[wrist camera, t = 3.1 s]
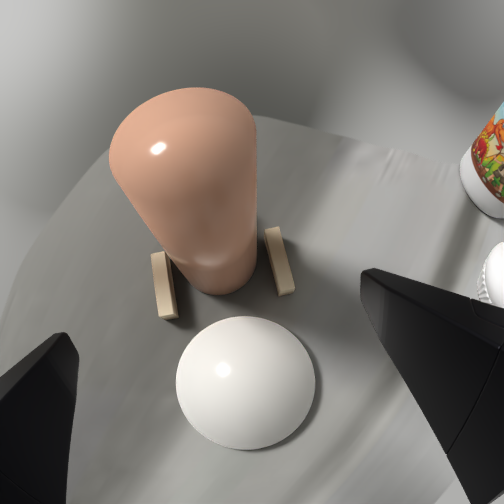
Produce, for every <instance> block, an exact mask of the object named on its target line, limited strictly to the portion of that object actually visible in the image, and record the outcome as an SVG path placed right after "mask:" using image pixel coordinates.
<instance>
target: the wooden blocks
mask: <svg viewBox="0 0 504 504" xmlns="http://www.w3.org/2000/svg"><path fill="white" fill-rule="evenodd" d="M264 240H265V244H266V248H267V252H268V256H269V260H270V263H271V267H272V271H273V275H274V279H275V283H276V287H277V291H278V295H279V296H283V295H287V294H291V293H293V292H294V290H295V285H294V281H293V277H292V273H291V270H290V266H289V262H288V259H287V255H286V251H285V248H284V244H283V240H282V237H281V233H280V230H279V227H275V228H270V229H265V230H264ZM151 261H152V269H153V277H154V285H155V292H156V300H157V307H158V313H159V317H161V318H162V319H164V320H168V319H173V318H179V315H178V309H177V303H176V297H175V291H174V284H173V278H172V271H171V264H170V258H169V257H168V255H167V254H166V253H165V251H163V252H158V253H154V254H151Z"/></svg>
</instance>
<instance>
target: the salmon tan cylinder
mask: <svg viewBox="0 0 504 504" xmlns="http://www.w3.org/2000/svg"><path fill="white" fill-rule="evenodd" d="M109 163H110V168H111V171H112V173H113V176H114V177H115V179H116V181H117V182H118V184H119V185H120V187H121V188H122V190H123V191H124V193H125V194H126V196H127V197H128V199H129V200H130V201H131V203H132V204H133V206H134V207H135V209H136V210H137V212H138V213H139V215H140V216H141V217H142V219H143V220H144V222H145V223H146V225H147V226H148V227H149V229H150V230H151V232H152V233H153V234H154V236H155V237H156V239H157V240H158V241H159V243H160V244H161V246H162V247H163V248H164V250H165V251H166V252H167V254H168V255H169V256H170V258H171V259H172V261H173V262H174V263H175V265H176V266H177V267H178V269H179V270H180V271H181V273H182V274H183V275H184V277H185V278H186V279H187V281H188V282H189V283H190V284H191V285H192V286H193V287H194V288H196V289H197V290H199V291H201V292H203V293H206V294H211V295H224V294H229V293H232V292H234V291H236V290H238V289H240V288H241V287H242V286H244V285H245V284H246V283H247V282H248V280H249V279H250V278H251V276H252V275H253V273H254V270H255V267H256V263H257V164H256V126H255V122H254V119H253V117H252V115H251V113H250V111H249V110H248V109H247V108H246V106H245V105H244V104H243V103H241V102H240V101H239V100H237V99H236V98H235V97H233V96H231V95H229V94H227V93H224V92H221V91H218V90H214V89H208V88H183V89H178V90H173V91H170V92H166V93H164V94H161V95H158V96H156V97H154V98H152V99H150V100H148V101H146V102H145V103H143V104H142V105H140V106H139V107H137V108H136V109H135V110H134V111H133V112H131V113H130V114H129V115H128V117H126V119H125V120H124V121H123V122H122V123H121V125H120V126H119V128H118V129H117V131H116V133H115V135H114V137H113V139H112V143H111V146H110V151H109Z"/></svg>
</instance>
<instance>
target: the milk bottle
mask: <svg viewBox="0 0 504 504" xmlns="http://www.w3.org/2000/svg"><path fill="white" fill-rule="evenodd" d="M460 177H461V181H462V184H463V186H464V188H465V191H466V192H467V194H468V196H469V197H470V199H471V200H472V201H473V203H474V204H475V205H476V206H477V207H478V208H479V209H480V210H482V211H483V212H484V213H486V214H487V215H489V216H491V217H494V218H504V102H503V103H502V105H501V106H500V108H499V109H498V110H497V112H496V113H495V114H494V116H493V117H492V119H491V120H490V121H489V123H488V124H487V125H486V127H485V128H484V129H483V131H482V132H481V133H480V135H479V136H478V137H477V139H476V140H475V141H474V143H473V144H472V145H471V147H470V148H469V149H468V150H467V152H466V153H465V155H464V156H463V157H462V160H461V163H460Z"/></svg>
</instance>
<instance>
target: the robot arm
mask: <svg viewBox="0 0 504 504" xmlns="http://www.w3.org/2000/svg"><path fill="white" fill-rule="evenodd" d="M360 296H361V301H362V304H363V306H364V308H365V310H366V312H367V314H368V316H369V318H370V320H371V322H372V324H373V327H374V329H375V331H376V333H377V335H378V337H379V339H380V341H381V343H382V345H383V346H384V348H385V350H386V351H387V353H388V355H389V356H390V358H391V359H392V361H393V363H394V364H395V366H396V368H397V369H398V371H399V373H400V374H401V376H402V378H403V379H404V381H405V383H406V384H407V386H408V388H409V389H410V391H411V393H412V395H413V396H414V398H415V400H416V401H417V403H418V405H419V407H420V408H421V410H422V412H423V414H424V415H425V417H426V419H427V421H428V423H429V424H430V426H431V428H432V430H433V432H434V433H435V435H436V437H437V439H438V441H439V443H440V444H441V446H442V448H443V450H444V452H445V454H447V458H448V460H449V462H450V464H451V466H452V467H453V469H454V471H455V473H456V475H457V477H458V479H459V481H460V483H461V485H462V487H463V489H464V491H465V493H466V495H467V497H468V499H469V501H470V503H471V504H490V503H492V502H493V501H494V500H496V499H497V498H498V497H500V496H501V495H502V494H504V308H501V307H497V306H494V305H491V304H488V303H484V302H481V301H478V300H475V299H470V298H469V297H466V296H462V295H459V294H456V293H453V292H450V291H447V290H444V289H440V288H437V287H434V286H431V285H428V284H425V283H421V282H418V281H415V280H412V279H409V278H406V277H402V276H399V275H396V274H393V273H389V272H386V271H383V270H380V269H376V268H371V269H368V270H364V271H362V273H361V285H360ZM78 369H79V354H78V352H77V350H76V348H75V346H74V344H73V343H72V341H71V339H70V337H69V336H68V334H67V333H65V332H61V333H55V334H53V335H52V336H51V337H49V338H48V339H47V340H45V341H44V342H43V343H42V344H40V345H39V346H38V347H37V348H35V349H34V350H33V351H32V352H30V353H29V354H28V355H27V356H25V357H24V358H23V359H22V360H21V361H19V362H18V363H17V364H16V365H14V366H13V367H12V368H11V369H10V370H8V371H7V372H6V373H5V374H4V375H2V376H1V377H0V504H66V490H67V474H68V462H69V451H70V442H71V434H72V426H73V418H74V412H75V405H76V396H77V381H78Z"/></svg>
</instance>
